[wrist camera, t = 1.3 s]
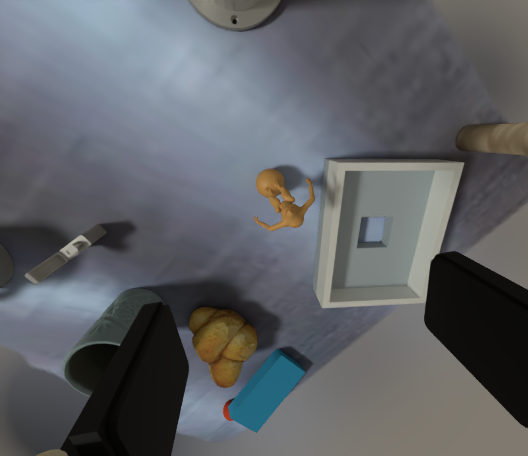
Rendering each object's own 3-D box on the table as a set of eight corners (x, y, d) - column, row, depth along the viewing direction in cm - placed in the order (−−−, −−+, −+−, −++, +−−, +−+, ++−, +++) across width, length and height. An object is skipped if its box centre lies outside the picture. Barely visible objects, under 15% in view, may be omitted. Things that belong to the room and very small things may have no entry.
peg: (459, 124, 37) (534, 121, 27) (482, 125, 37) (564, 122, 28) (452, 150, 38) (522, 155, 28) (474, 150, 38) (550, 156, 29)
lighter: (98, 223, 37) (62, 246, 29) (107, 232, 37) (74, 256, 30) (63, 249, 38) (19, 278, 30) (72, 257, 38) (32, 287, 31)
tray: (324, 158, 36) (338, 162, 31) (434, 158, 38) (464, 162, 33) (312, 287, 44) (322, 308, 39) (404, 283, 46) (425, 302, 41)
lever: (269, 334, 53) (212, 403, 52) (281, 355, 46) (215, 434, 45) (291, 350, 55) (236, 416, 54) (305, 372, 49) (243, 448, 47)
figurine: (284, 151, 36) (304, 160, 24) (306, 185, 38) (335, 207, 26) (237, 187, 37) (237, 210, 26) (262, 218, 39) (271, 252, 28)
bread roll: (178, 314, 44) (166, 352, 36) (223, 285, 42) (220, 317, 35) (224, 357, 48) (221, 398, 41) (266, 332, 47) (271, 369, 39)
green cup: (165, 281, 41) (137, 336, 30) (177, 330, 45) (156, 395, 33) (101, 288, 40) (48, 347, 29) (118, 337, 44) (77, 406, 33)
